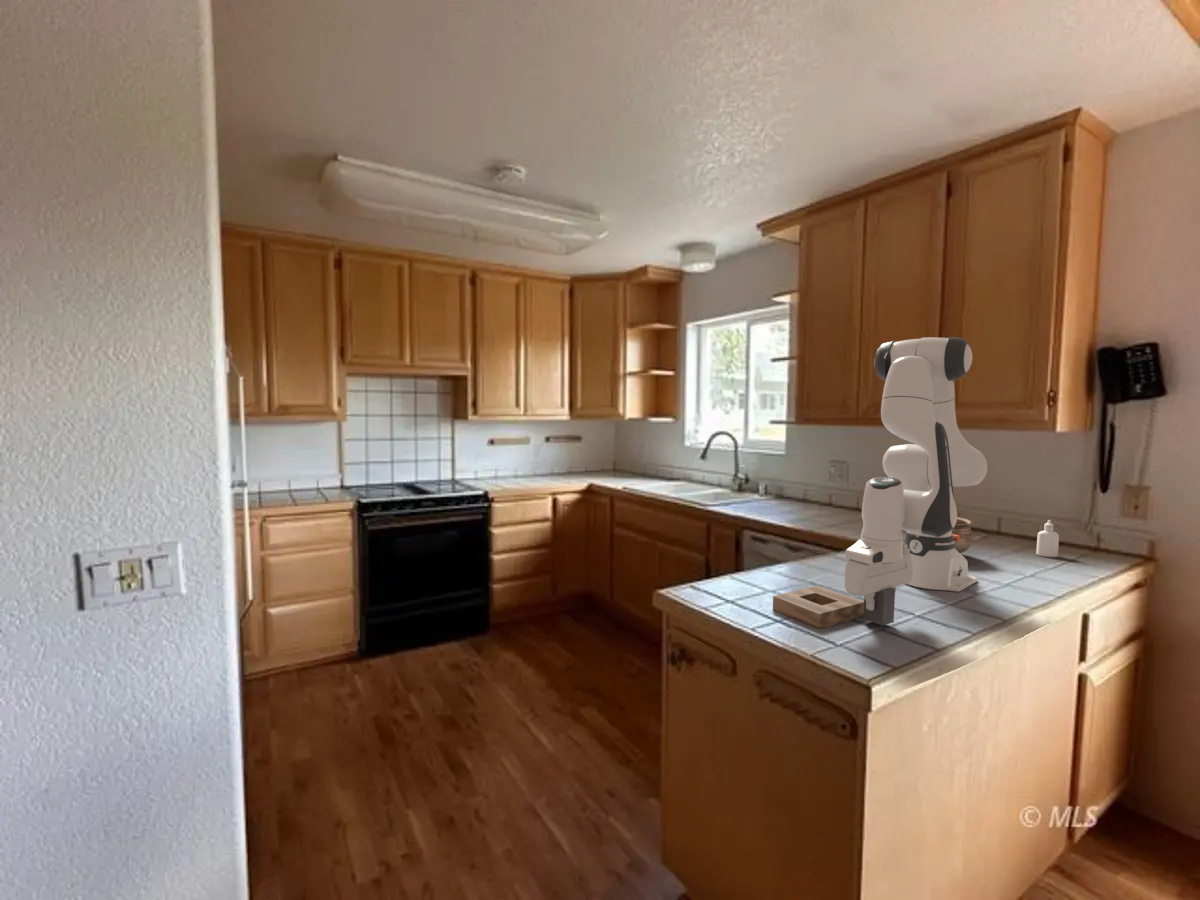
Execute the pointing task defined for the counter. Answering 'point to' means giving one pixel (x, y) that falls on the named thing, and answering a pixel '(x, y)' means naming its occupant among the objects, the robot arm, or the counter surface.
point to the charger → (882, 607)
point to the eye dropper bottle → (1047, 541)
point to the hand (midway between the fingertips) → (878, 607)
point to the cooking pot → (963, 534)
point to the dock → (818, 606)
